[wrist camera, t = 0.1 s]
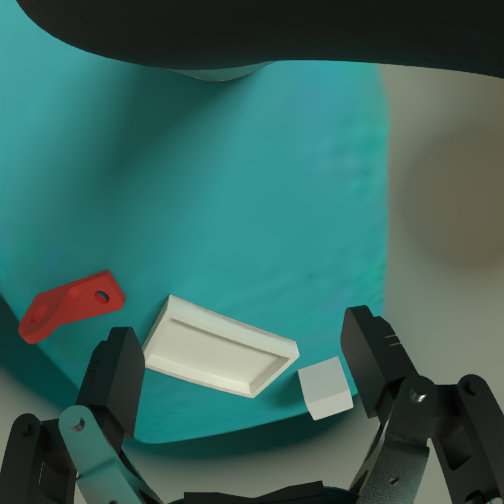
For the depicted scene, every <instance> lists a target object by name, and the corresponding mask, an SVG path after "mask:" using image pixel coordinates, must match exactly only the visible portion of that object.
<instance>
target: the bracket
mask: <svg viewBox="0 0 504 504" xmlns="http://www.w3.org/2000/svg"><path fill="white" fill-rule="evenodd" d="M97 291H103V292H105V293H106V294H107V295H108V296H109V298H103V297H101V296H100V295H99V294H98V292H97ZM124 301H125V295H124V294H123V292H122V291H121V289H120V287H119V286H118V284H117V283H116V281H115V280H114V278H113V276H112V275H111V273H110V272H109V270H106V271H103V272H100V273H97V274H94V275H91V276H88V277H86V278H83V279H80V280H77V281H74V282H71V283H69V284H66V285H63V286H60V287H57V288H55V289H52V290H49V291H46V292H44V293H41V294H38V295H37V296H36V297H35V299H34V301H33V302H32V304H31V305H30V307H29V309H28V310H27V312H26V314H25V315H24V317H23V319H22V321H21V323H20V325H19V334H20V335H21V336H22V338H23V339H24V340H25V341H26V342H27V343H29V344H34V343H37V342H39V341H41V340H43V339H45V338H46V337H47V336H49V335H50V334H51V333H52V332H53V331H54V330H55V329H56V328H57V327H58V326H59V325H63V324H67V323H71V322H75V321H78V320H82V319H86V318H90V317H94V316H97V315H101V314H105V313H109V312H112V311H116V310H120V309H121V308H122V307H123V304H124Z"/></svg>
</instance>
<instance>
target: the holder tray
mask: <svg viewBox="0 0 504 504" xmlns="http://www.w3.org/2000/svg"><path fill="white" fill-rule="evenodd" d="M141 349H142V351H143V353H144V357H145V367H146V368H149V369H152V370H155V371H158V372H161V373H164V374H167V375H170V376H173V377H176V378H179V379H182V380H186V381H189V382H192V383H196V384H199V385H203V386H206V387H210V388H213V389H217V390H221V391H225V392H229V393H233V394H237V395H241V396H245V397H249V398H254V397H255V396H256V395H257V394H259V393H260V392H261V391H262V390H263V389H264V388H265V387H267V386H268V385H269V384H270V383H271V382H272V381H273V380H274V379H276V378H277V377H278V376H279V375H280V374H281V373H282V372H283V371H284V370H285V369H286V368H288V367H289V366H290V365H291V364H292V363H293V362H294V361H295V360H296V359H297V358H298V357H299V352H298V349H297V345H296V341H294V340H291V339H288V338H285V337H282V336H279V335H276V334H273V333H270V332H267V331H265V330H262V329H259V328H256V327H253V326H251V325H248V324H245V323H243V322H240V321H237V320H235V319H232V318H229V317H227V316H224V315H221V314H219V313H216V312H214V311H211V310H208V309H206V308H203V307H201V306H198V305H196V304H193V303H191V302H188V301H186V300H184V299H181V298H179V297H176V296H174V295H171V294H170V295H169V296H168V298H167V300H166V302H165V304H164V306H163V308H162V309H161V311H160V313H159V315H158V317H157V319H156V321H155V322H154V324H153V326H152V328H151V330H150V332H149V334H148V336H147V338H146V340H145V342H144V344H143V345H142V347H141Z"/></svg>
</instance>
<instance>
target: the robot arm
mask: <svg viewBox="0 0 504 504" xmlns="http://www.w3.org/2000/svg"><path fill="white" fill-rule="evenodd" d="M16 1H17V3H18V4H19V6H20V7H21V8H22V10H23V11H24V12H25V14H26V15H27V16H28V17H29V18H30V19H31V20H32V21H33V22H35V23H36V24H37V25H38V26H39V27H40V28H42V29H43V30H45V31H46V32H48V33H49V34H50V35H52V36H53V37H55V38H57V39H59V40H61V41H63V42H65V43H67V44H69V45H71V46H74V47H76V48H79V49H81V50H84V51H86V52H89V53H93V54H96V55H100V56H103V57H106V58H111V59H116V60H120V61H125V62H129V63H134V64H139V65H144V66H149V67H156V68H160V69H165V70H169V71H173V72H177V73H180V74H184V75H187V76H191V77H192V78H196V79H199V80H204V81H205V80H206V81H229V80H234V79H238V78H241V77H244V76H246V75H248V74H251V73H252V72H254V71H256V70H258V69H260V68H262V67H264V66H267V65H269V64H271V63H273V62H276V61H282V60H328V61H350V62H367V63H380V64H393V65H404V66H416V67H427V68H436V69H447V70H455V71H462V72H469V73H477V74H482V75H488V76H493V77H498V78H503V79H504V0H16ZM341 348H342V352H343V354H344V357H345V359H346V362H347V364H348V367H349V369H350V372H351V374H352V377H353V380H354V382H355V385H356V387H357V390H358V393H359V395H360V398H361V400H362V403H363V406H364V408H365V411H366V414H367V417H368V418H372V417H376V416H378V418H379V420H380V424H379V426H378V428H377V431H376V433H375V436H374V438H373V440H372V443H371V445H370V447H369V450H368V452H367V455H366V457H365V459H364V461H363V464H362V465H361V467H360V469H359V471H358V473H357V474H356V476H355V478H354V480H353V482H352V483H351V485H350V487H349V489H348V490H345V489H341V488H337V487H329V486H323V483H322V481H316V482H311V483H306V484H300V485H294V486H288V487H285V488H283V489H280V490H277V491H275V492H271V493H269V494H266V495H263V496H260V497H256V498H248V497H241V496H235V495H229V494H223V493H218V492H210V493H208V492H206V493H205V492H202V493H201V492H200V493H199V492H198V493H197V492H184V498H183V499H179V500H176V501H173V502H171V503H168V504H413V502H414V499H415V497H416V494H417V491H418V488H419V485H420V483H421V480H422V477H423V474H424V470H425V467H426V464H427V461H428V457H429V453H430V448H429V447H427V440H428V438H431V440H432V442H433V445H434V448H435V451H436V454H437V457H438V459H439V462H440V465H441V468H442V471H443V474H444V477H445V481H446V484H447V487H448V490H449V494H450V497H451V500H452V504H504V415H503V413H502V411H501V409H500V407H499V405H498V403H497V401H496V399H495V397H494V395H493V393H492V392H491V390H490V388H489V386H488V384H487V383H486V381H485V380H484V379H483V378H481V377H479V376H478V375H474V374H468V375H465V376H463V377H462V378H461V379H460V381H459V382H458V384H455V385H454V384H452V385H436V384H434V382H433V381H432V380H430V379H429V378H427V377H425V376H422V375H419V374H418V373H417V371H416V369H415V367H414V365H413V363H412V362H411V360H410V358H409V356H408V355H407V353H406V351H405V349H404V348H403V346H402V344H400V341H399V339H398V337H397V336H396V334H395V332H394V330H393V329H392V327H391V325H390V324H389V323H388V322H387V321H385V320H384V319H383V318H382V317H380V316H377V317H373V315H372V313H371V311H370V310H369V308H368V306H366V305H362V306H355V307H349V308H347V309H346V311H345V316H344V321H343V327H342V332H341ZM144 371H145V357H144V353H143V351H142V349H141V346H140V344H139V341H138V339H137V337H136V334H135V332H134V330H133V328H132V327H113V328H112V329H111V331H110V334H109V336H108V339H107V341H101V342H100V343H99V345H98V346H97V347H96V348H95V349H94V351H93V353H92V356H91V359H90V363H89V365H88V367H87V372H86V373H85V376H84V379H83V382H82V385H81V388H80V392H79V395H78V398H77V401H76V404H75V406H72V407H69V408H67V409H66V410H65V411H64V412H63V413H62V415H61V417H60V418H58V419H53V420H46V421H40V420H39V419H38V418H37V417H36V416H35V415H33V414H30V413H26V414H23V415H20V416H19V417H18V418H17V419H16V420H15V421H14V423H13V425H12V428H11V432H10V435H9V439H8V442H7V447H6V451H5V455H4V459H3V463H2V467H1V472H0V504H74V491H75V483H76V482H77V485H78V487H79V489H80V491H81V493H82V495H83V497H84V499H85V501H86V502H87V504H164V503H163V501H162V500H161V499H160V498H159V497H158V495H157V494H156V493H155V492H154V491H153V490H152V489H151V488H150V487H149V486H148V484H147V483H146V482H145V480H144V479H143V477H142V476H141V475H140V473H139V472H138V470H137V469H136V467H135V466H134V464H133V463H132V462H131V460H130V458H129V457H128V455H127V453H126V452H125V450H124V449H123V447H122V442H123V438H127V439H133V436H134V429H135V422H136V416H137V410H138V404H139V398H140V393H141V387H142V382H143V377H144ZM42 463H43V465H42ZM41 468H42V471H41ZM77 471H78V474H79V477H77V478H76V475H77ZM40 474H41V477H40ZM39 480H40V483H39Z"/></svg>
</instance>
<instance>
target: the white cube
mask: <svg viewBox="0 0 504 504" xmlns="http://www.w3.org/2000/svg"><path fill="white" fill-rule="evenodd" d="M298 374H299V378H300V383H301V387H302V391H303V395H304V399H305V404H306V406H307V408H308V410H309V411H310V413H311V415H312V417H313V418H314V420H317V419H320V418H324V417H326V416H330V415H332V414H336V413H339V412H341V411H344V410H347V409H350V408H353V403H352V398H351V394H350V389H349V387H348V384H347V381H346V378H345V375H344V372H343V370H342V367H341V364H340V361H339V359H338V356H337V357H334V358H332V359H329V360H326V361H323V362H320V363H317V364H314V365H311V366H308V367H305V368H302V369H299V370H298Z"/></svg>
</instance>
